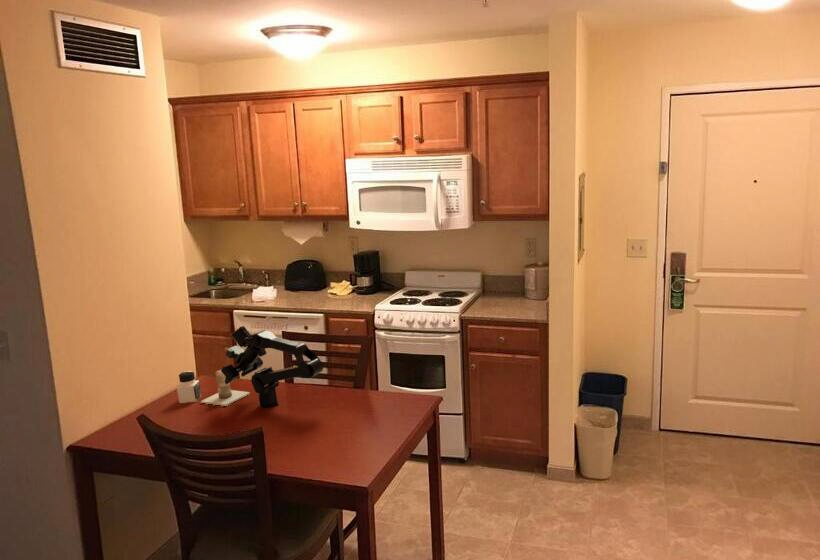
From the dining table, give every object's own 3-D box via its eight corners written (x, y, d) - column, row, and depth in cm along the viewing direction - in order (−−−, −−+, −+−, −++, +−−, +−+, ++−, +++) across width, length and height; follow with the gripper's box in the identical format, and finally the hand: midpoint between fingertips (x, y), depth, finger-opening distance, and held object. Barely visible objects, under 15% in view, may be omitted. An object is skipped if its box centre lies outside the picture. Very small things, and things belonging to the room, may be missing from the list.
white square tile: (250, 394, 278) (249, 392, 278) (226, 406, 266) (225, 404, 266) (225, 391, 285) (225, 389, 284) (201, 403, 273) (200, 401, 273)
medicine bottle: (196, 402, 275) (191, 374, 273) (179, 403, 275) (174, 376, 273) (201, 396, 282) (197, 369, 280) (185, 397, 282) (180, 370, 280)
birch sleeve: (234, 395, 276) (230, 369, 274) (225, 399, 272) (221, 373, 270) (225, 393, 279) (221, 368, 277) (216, 398, 274) (212, 372, 272)
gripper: (253, 334, 273) (237, 358, 280) (220, 347, 257) (204, 372, 264) (271, 353, 270) (254, 377, 278) (238, 368, 255) (222, 393, 262)
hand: (234, 379), depth 271 cm, fingers open, 9 cm apart
